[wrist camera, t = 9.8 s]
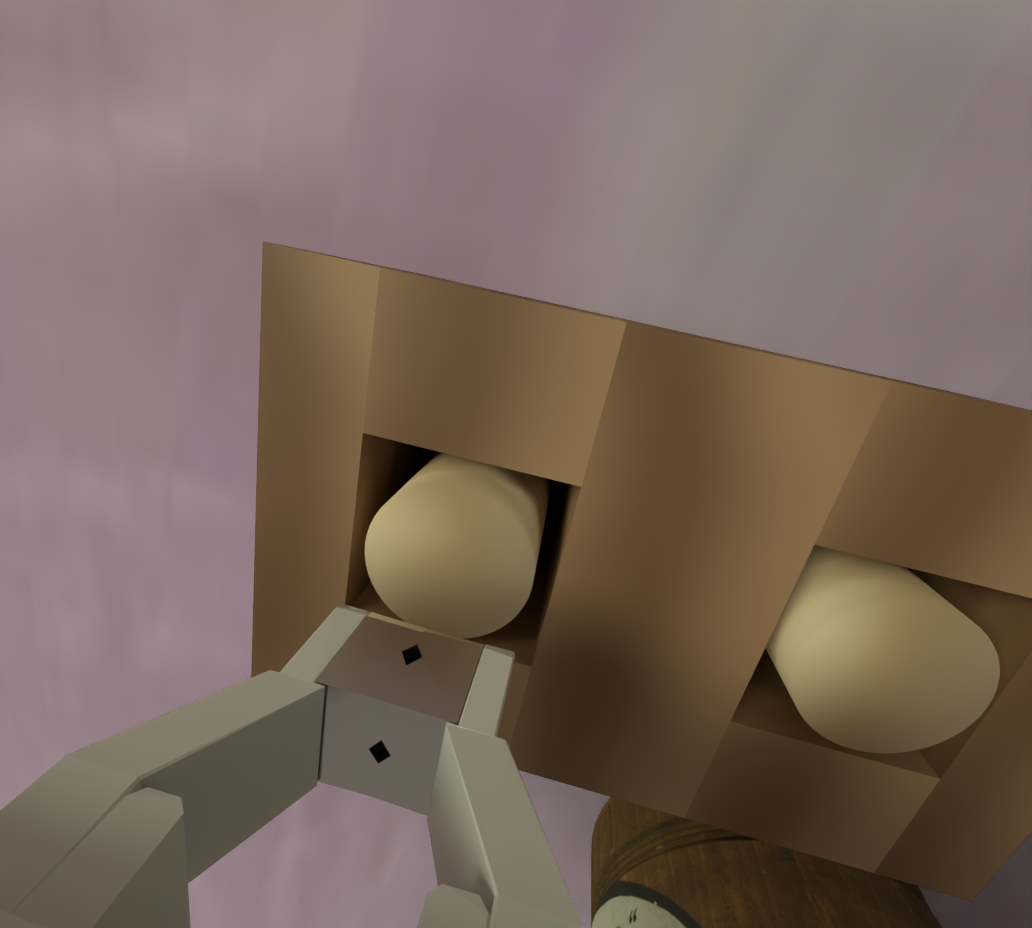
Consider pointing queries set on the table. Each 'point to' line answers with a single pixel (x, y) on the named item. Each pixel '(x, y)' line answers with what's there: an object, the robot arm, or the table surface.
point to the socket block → (659, 546)
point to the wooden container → (730, 880)
